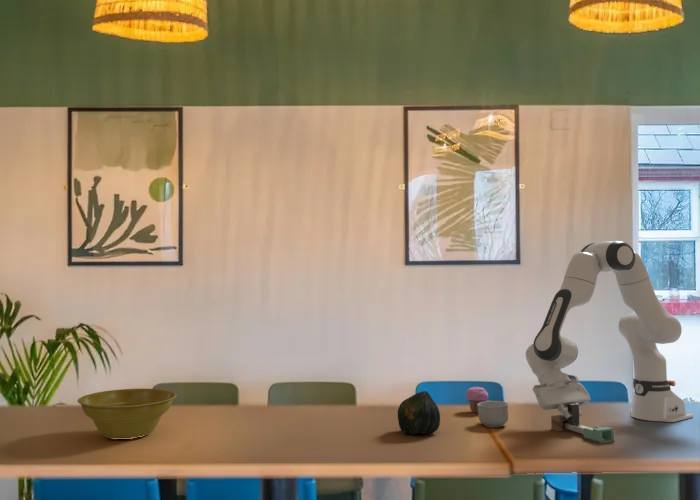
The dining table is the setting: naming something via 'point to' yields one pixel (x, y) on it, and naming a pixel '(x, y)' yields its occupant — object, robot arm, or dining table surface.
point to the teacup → (493, 413)
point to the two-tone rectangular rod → (574, 419)
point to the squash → (419, 414)
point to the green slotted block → (599, 434)
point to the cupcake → (476, 397)
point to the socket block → (558, 422)
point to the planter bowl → (126, 410)
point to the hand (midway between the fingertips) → (574, 416)
